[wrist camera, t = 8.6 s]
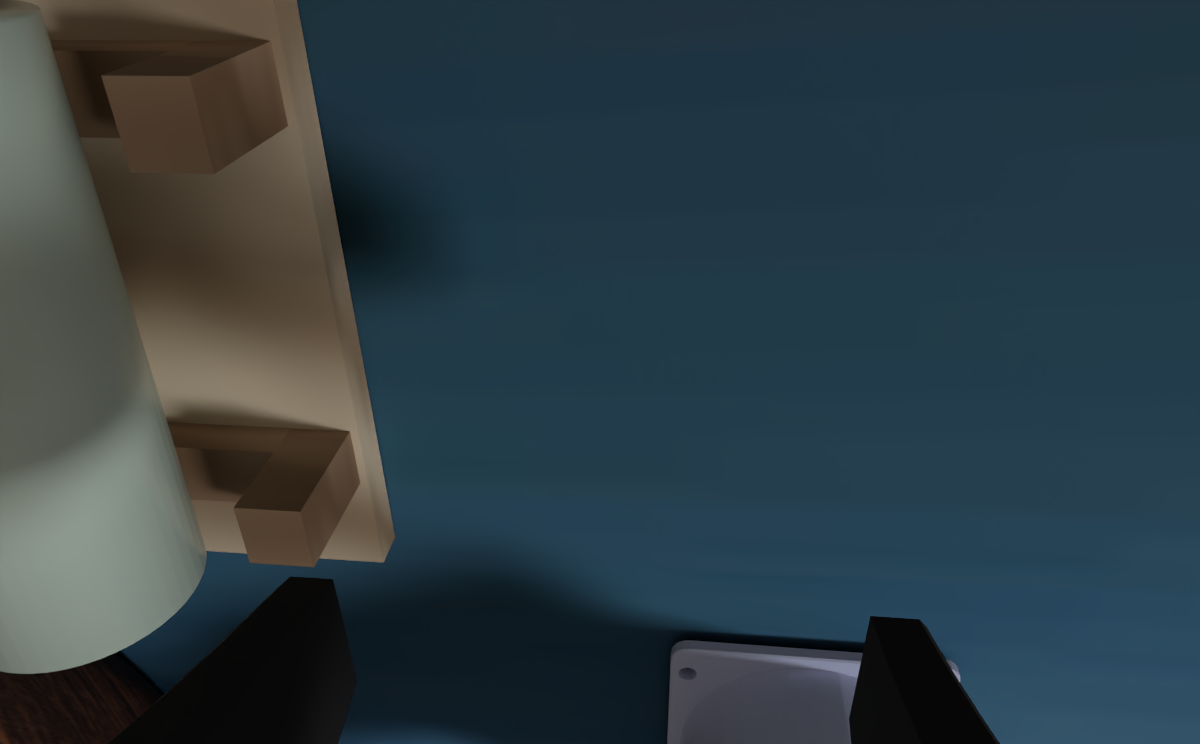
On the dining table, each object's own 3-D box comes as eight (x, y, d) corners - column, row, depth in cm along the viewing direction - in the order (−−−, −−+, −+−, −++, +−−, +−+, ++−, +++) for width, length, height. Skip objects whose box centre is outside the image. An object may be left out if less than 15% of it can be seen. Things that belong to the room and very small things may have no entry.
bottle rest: (394, 537, 24) (343, 650, 20) (48, 515, 25) (-56, 620, 21) (273, -126, 16) (152, -120, 12) (-239, -118, 17) (-482, -110, 13)
